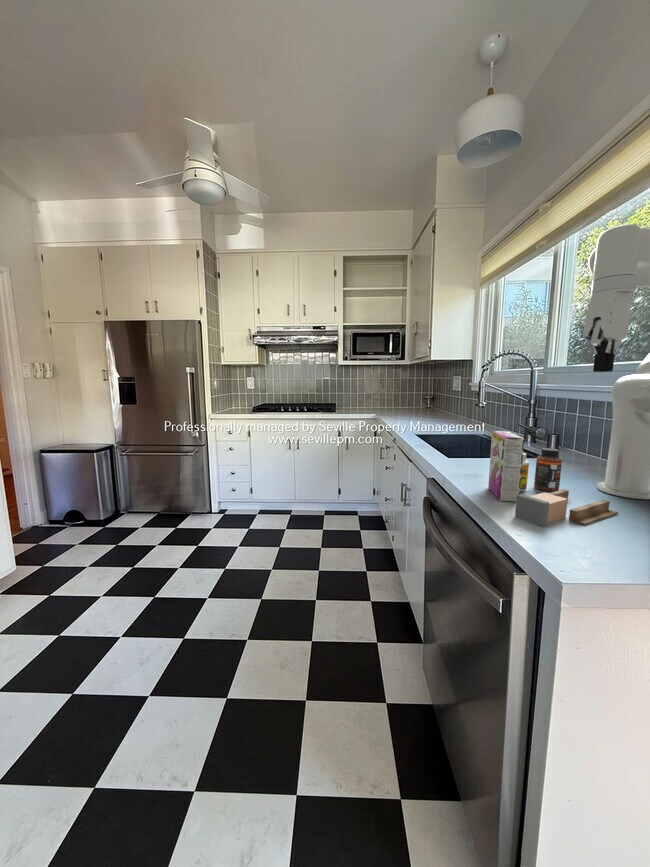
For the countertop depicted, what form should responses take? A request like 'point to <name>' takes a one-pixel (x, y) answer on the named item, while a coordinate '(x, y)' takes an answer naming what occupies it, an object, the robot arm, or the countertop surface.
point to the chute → (587, 510)
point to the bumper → (532, 510)
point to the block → (553, 506)
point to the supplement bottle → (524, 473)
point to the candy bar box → (505, 465)
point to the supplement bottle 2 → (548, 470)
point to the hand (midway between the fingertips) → (602, 371)
